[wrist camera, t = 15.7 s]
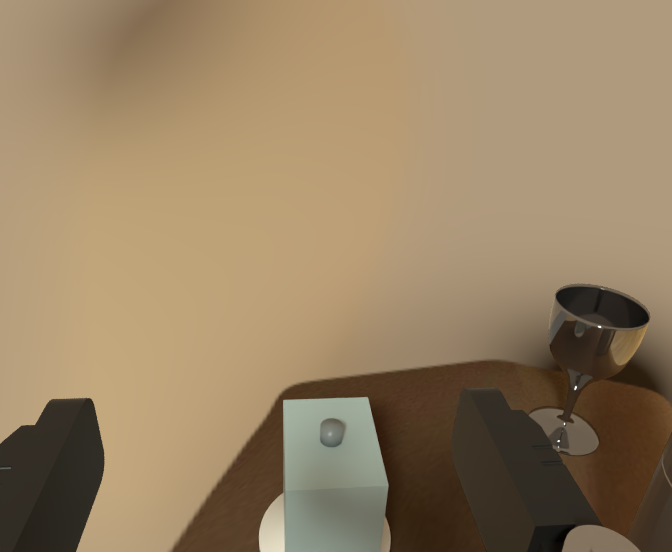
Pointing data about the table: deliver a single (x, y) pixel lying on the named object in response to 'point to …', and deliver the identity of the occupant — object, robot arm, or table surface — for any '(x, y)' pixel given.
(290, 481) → the cloche
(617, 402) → the table surface
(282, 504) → the plate
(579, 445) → the wine glass
